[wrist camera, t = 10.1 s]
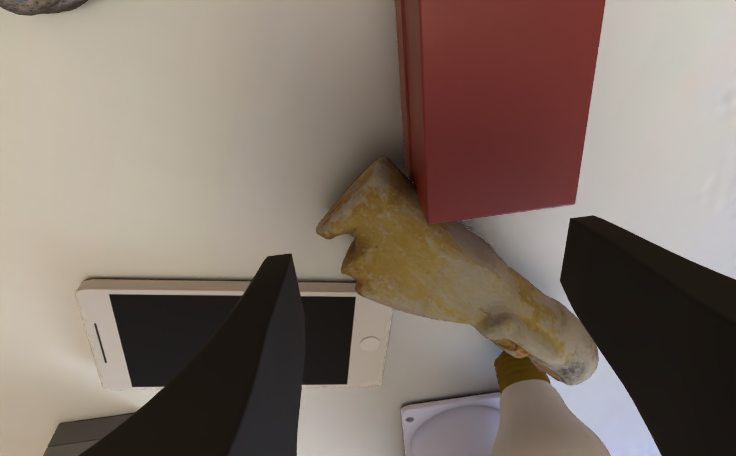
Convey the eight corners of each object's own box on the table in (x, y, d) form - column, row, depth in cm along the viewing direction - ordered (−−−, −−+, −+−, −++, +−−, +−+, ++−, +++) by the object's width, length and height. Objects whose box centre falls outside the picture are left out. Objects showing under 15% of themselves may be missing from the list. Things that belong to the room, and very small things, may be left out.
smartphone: (379, 375, 29) (381, 388, 28) (109, 378, 27) (102, 391, 26) (393, 282, 25) (396, 294, 24) (80, 277, 23) (72, 290, 22)
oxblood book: (552, 181, 19) (575, 205, 17) (417, 199, 19) (427, 225, 17) (584, -86, 14) (619, -89, 13) (404, -64, 14) (416, -65, 12)
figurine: (288, 260, 21) (525, 425, 25) (332, 228, 17) (617, 437, 20) (342, 178, 24) (552, 338, 27) (394, 130, 19) (640, 330, 22)
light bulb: (580, 345, 29) (662, 540, 22) (496, 380, 31) (544, 564, 24) (533, 307, 25) (611, 523, 18) (443, 350, 28) (482, 552, 21)
